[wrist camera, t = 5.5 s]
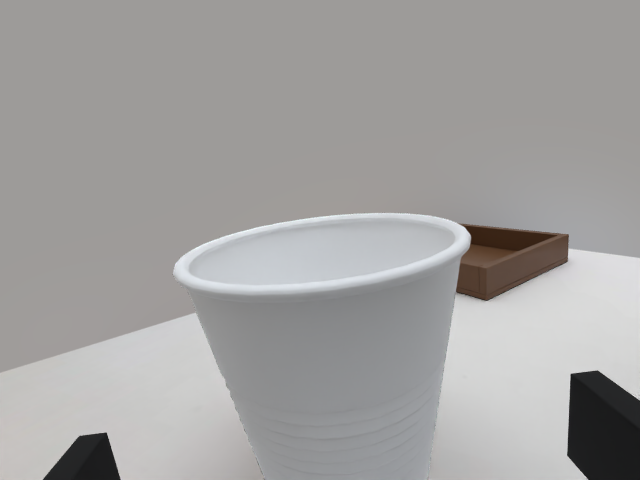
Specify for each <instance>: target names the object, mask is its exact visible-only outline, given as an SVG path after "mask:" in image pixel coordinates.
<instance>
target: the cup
mask: <svg viewBox="0 0 640 480" xmlns="http://www.w3.org/2000/svg"><path fill="white" fill-rule="evenodd" d="M470 242H471V235H470V234H469V232H468V231H467V230H466V228H465V227H463V226H461V225H459V224H458V223H456V222H453V221H450V220H447V219H443V218H438V217H433V216H427V215H417V214H404V213H366V214H347V215H334V216H325V217H316V218H308V219H301V220H295V221H288V222H283V223H277V224H272V225H267V226H263V227H257V228H253V229H250V230H246V231H242V232H238V233H234V234H231V235H228V236H224V237H222V238H219V239H216V240H213V241H210V242H208V243H205V244H203V245H201V246H199V247H197V248H195V249H193V250H191V251H190V252H188V253H186V254H185V255H183V256H182V257H181V258H180V259H179V260H178V262H177V263H176V264H175V266H174V272H173V277H174V278H175V279H176V280H177V282H178V283H179V284H180V286H181V287H183V288H185V289H187V291H188V294H189V296H190V299H191V301H192V303H193V306H194V308H195V311H196V313H197V316H198V318H199V321H200V323H201V326H202V328H203V330H204V333H205V335H206V338H207V340H208V343H209V345H210V348H211V350H212V352H213V355H214V357H215V360H216V362H217V365H218V367H219V370H220V372H221V374H222V376H223V377H224V379H225V382H226V386H227V388H228V389H229V391H230V395H231V398H232V400H233V401H234V404H235V408H236V410H237V412H238V414H239V417H240V420H241V422H242V424H243V426H244V431H245V432H246V434H247V436H248V440H249V442H250V444H251V446H252V449H253V452H254V454H255V456H256V459H257V462H258V464H259V466H260V469H261V472H262V474H263V476H264V479H265V480H428V474H429V467H430V461H431V452H432V444H433V439H434V431H435V426H436V418H437V411H438V405H439V398H440V392H441V384H442V377H443V371H444V363H445V358H446V351H447V346H448V340H449V333H450V327H451V320H452V313H453V307H454V300H455V293H456V287H457V280H458V273H459V267H460V260H461V257H462V256H463V255H464V254H465V253H466V252H467V251H468V249H469V247H470Z"/></svg>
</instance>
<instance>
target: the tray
mask: <svg viewBox="0 0 640 480" xmlns="http://www.w3.org/2000/svg"><path fill="white" fill-rule="evenodd" d="M459 225H461V226H463V227H465V228H466V230H467V231H468V232H469V234H470V235H471V242H470V247H469V249H468V251H467V252H466V253H465V254H464V255H463V256H462V257H461V260H460V267H459V273H458V280H457V287H456V292H460V293H463V294H467V295H470V296H474V297H477V298H480V299H484V300H488V299H490V298H493V297H495V296H497V295H499V294H501V293H503V292H505V291H507V290H509V289H511V288H513V287H515V286H517V285H519V284H521V283H523V282H526V281H528V280H530V279H532V278H534V277H536V276H538V275H540V274H542V273H544V272H546V271H548V270H550V269H552V268H554V267H557V266H559V265H561V264H563V263H565V262H567V261H568V237H569V235H568V234H559V233H549V232H539V231H529V230H519V229H508V228H499V227H488V226H479V225H468V224H459Z"/></svg>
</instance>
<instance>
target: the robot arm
mask: <svg viewBox="0 0 640 480" xmlns="http://www.w3.org/2000/svg"><path fill="white" fill-rule="evenodd" d="M567 456H568V457H569V458H570V459H571V460H572V461H573V463H574V464H575V465H576V466H577V467H578V468H579V469H580V471H581V472H582V473H583V474H584V475H585V476H586V477H587V478H588V480H640V401H639V400H638V399H637V398H635V397H634V396H632V395H631V394H630V393H628V392H627V391H625V390H624V389H623V388H621V387H620V386H618V385H617V384H616V383H614V382H613V381H612V380H610V379H609V378H607V377H606V376H605V375H603V374H602V373H600V372H599V371H590V372H582V373H574V374H571V380H570V404H569V428H568V452H567ZM43 480H120V476H119V473H118V469H117V466H116V463H115V459H114V456H113V452H112V449H111V446H110V442H109V439H108V435H107V433H99V434H91V435H83V436H79V437H78V438H77V439H76V441H75V442H74V443H73V444H72V445H71V447H70V448H69V449H68V450H67V451H66V453H65V454H64V455H63V456H62V457H61V458H60V460H59V461H58V462H57V463H56V464H55V466H54V467H53V468H52V469H51V470H50V472H49V473H48V474H47V475H46V476H45V478H44V479H43Z"/></svg>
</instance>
